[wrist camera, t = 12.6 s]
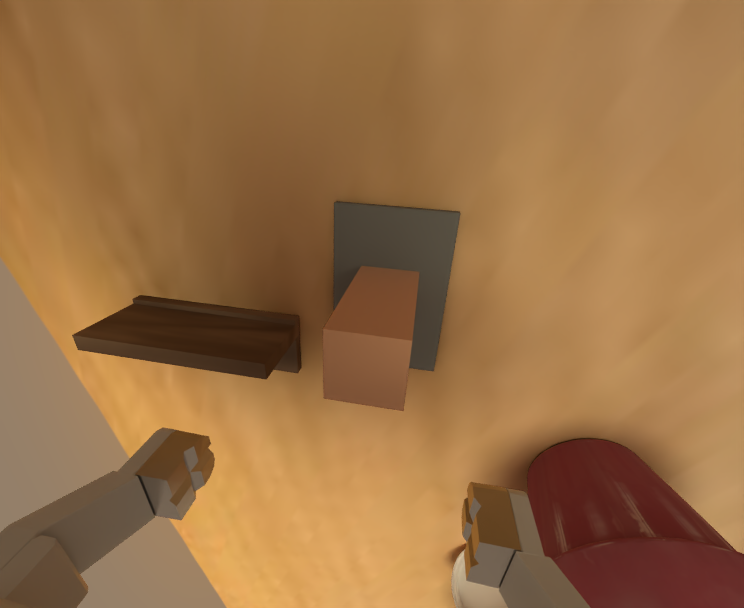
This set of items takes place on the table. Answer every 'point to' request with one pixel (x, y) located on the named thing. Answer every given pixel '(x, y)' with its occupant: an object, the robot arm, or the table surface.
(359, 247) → the charcoal mat
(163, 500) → the robot arm
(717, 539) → the plant pot
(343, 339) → the terracotta block
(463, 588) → the spread jar
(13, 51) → the table surface
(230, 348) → the brown wooden stand
